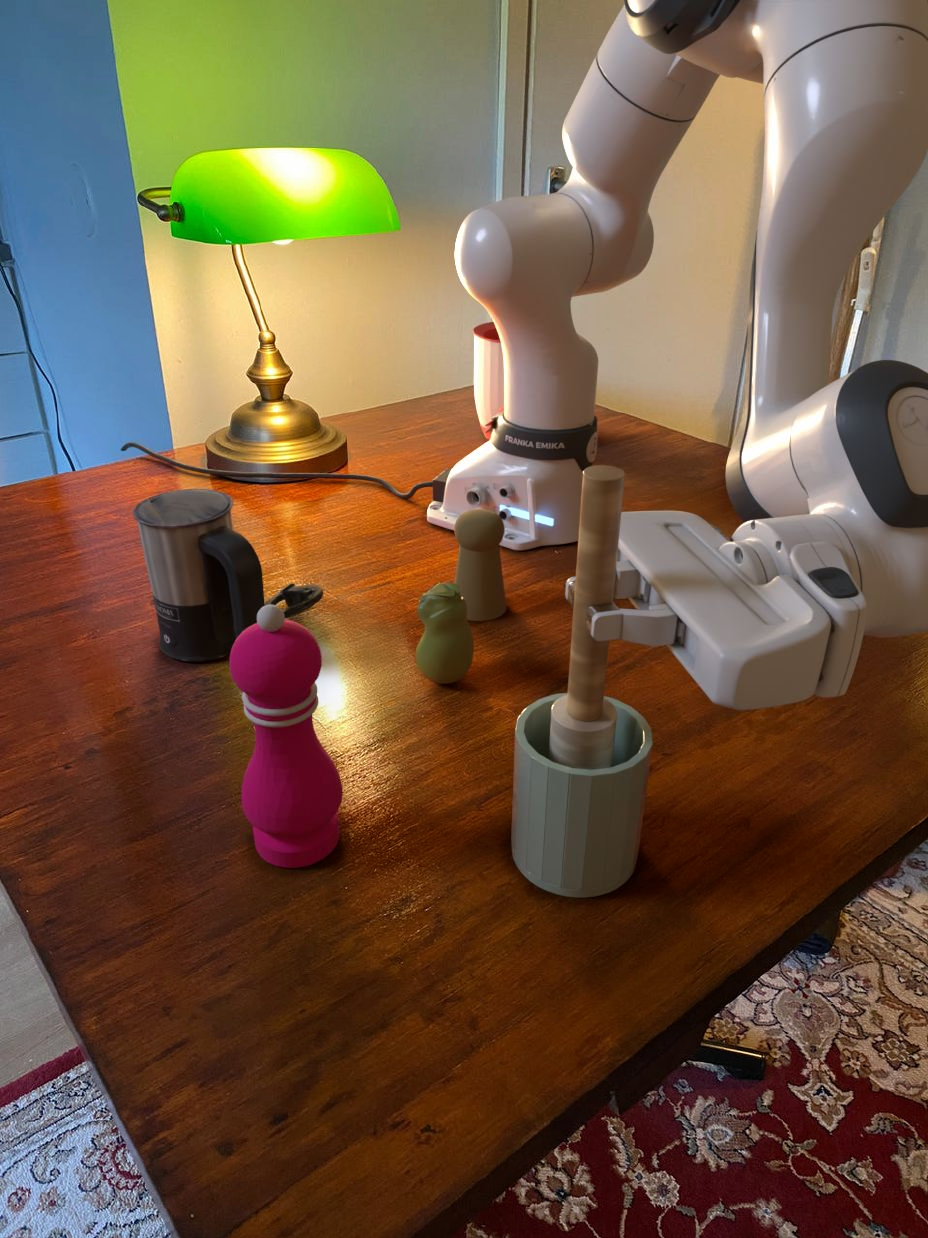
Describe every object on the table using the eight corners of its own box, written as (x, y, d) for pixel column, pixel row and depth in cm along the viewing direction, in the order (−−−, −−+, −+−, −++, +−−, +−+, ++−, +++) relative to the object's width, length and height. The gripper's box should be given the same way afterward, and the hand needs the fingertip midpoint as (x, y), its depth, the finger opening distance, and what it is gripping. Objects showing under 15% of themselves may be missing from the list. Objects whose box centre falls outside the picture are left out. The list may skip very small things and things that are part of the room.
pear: (451, 701, 83) (451, 606, 78) (404, 684, 86) (401, 591, 81) (483, 672, 88) (484, 581, 83) (437, 657, 90) (435, 567, 85)
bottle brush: (537, 800, 64) (554, 478, 51) (559, 764, 67) (581, 454, 55) (597, 820, 62) (629, 491, 50) (617, 781, 65) (652, 465, 53)
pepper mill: (254, 808, 71) (220, 582, 61) (347, 803, 71) (328, 578, 61) (243, 877, 65) (202, 638, 55) (344, 871, 65) (323, 632, 55)
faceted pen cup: (491, 871, 65) (493, 750, 60) (539, 794, 72) (545, 679, 67) (614, 915, 62) (628, 791, 56) (651, 830, 69) (668, 712, 63)
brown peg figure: (513, 599, 100) (516, 506, 95) (496, 625, 95) (499, 529, 90) (461, 590, 102) (461, 499, 97) (443, 615, 97) (441, 521, 92)
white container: (593, 433, 149) (603, 307, 139) (525, 460, 138) (530, 325, 128) (521, 413, 158) (525, 293, 148) (452, 437, 148) (451, 309, 138)
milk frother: (138, 652, 91) (110, 516, 83) (229, 584, 103) (211, 460, 96) (261, 682, 86) (242, 540, 79) (340, 606, 99) (330, 478, 91)
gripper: (712, 481, 67) (531, 498, 64) (886, 618, 49) (650, 650, 47) (700, 558, 70) (528, 578, 67) (860, 712, 53) (637, 747, 50)
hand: (579, 609), depth 57 cm, fingers closed on bottle brush, 2 cm apart
